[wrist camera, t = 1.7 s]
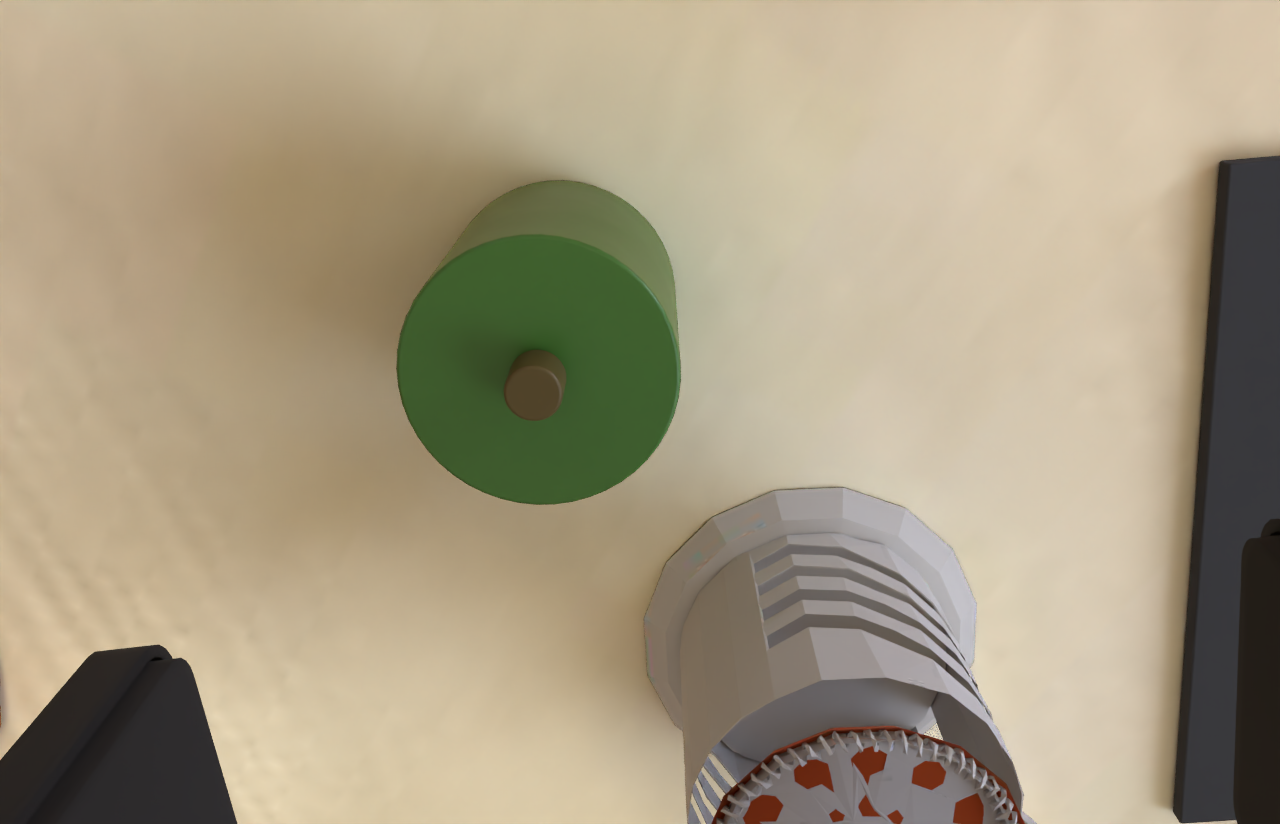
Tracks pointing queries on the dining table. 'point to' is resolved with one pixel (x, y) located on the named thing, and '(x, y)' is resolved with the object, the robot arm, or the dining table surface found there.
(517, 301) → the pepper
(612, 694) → the dining table surface
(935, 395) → the dining table surface
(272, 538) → the dining table surface
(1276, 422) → the mat
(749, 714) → the french press
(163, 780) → the robot arm
